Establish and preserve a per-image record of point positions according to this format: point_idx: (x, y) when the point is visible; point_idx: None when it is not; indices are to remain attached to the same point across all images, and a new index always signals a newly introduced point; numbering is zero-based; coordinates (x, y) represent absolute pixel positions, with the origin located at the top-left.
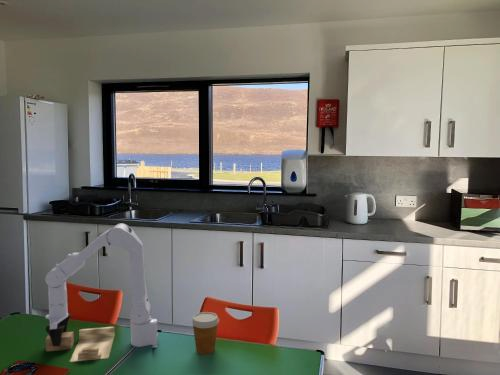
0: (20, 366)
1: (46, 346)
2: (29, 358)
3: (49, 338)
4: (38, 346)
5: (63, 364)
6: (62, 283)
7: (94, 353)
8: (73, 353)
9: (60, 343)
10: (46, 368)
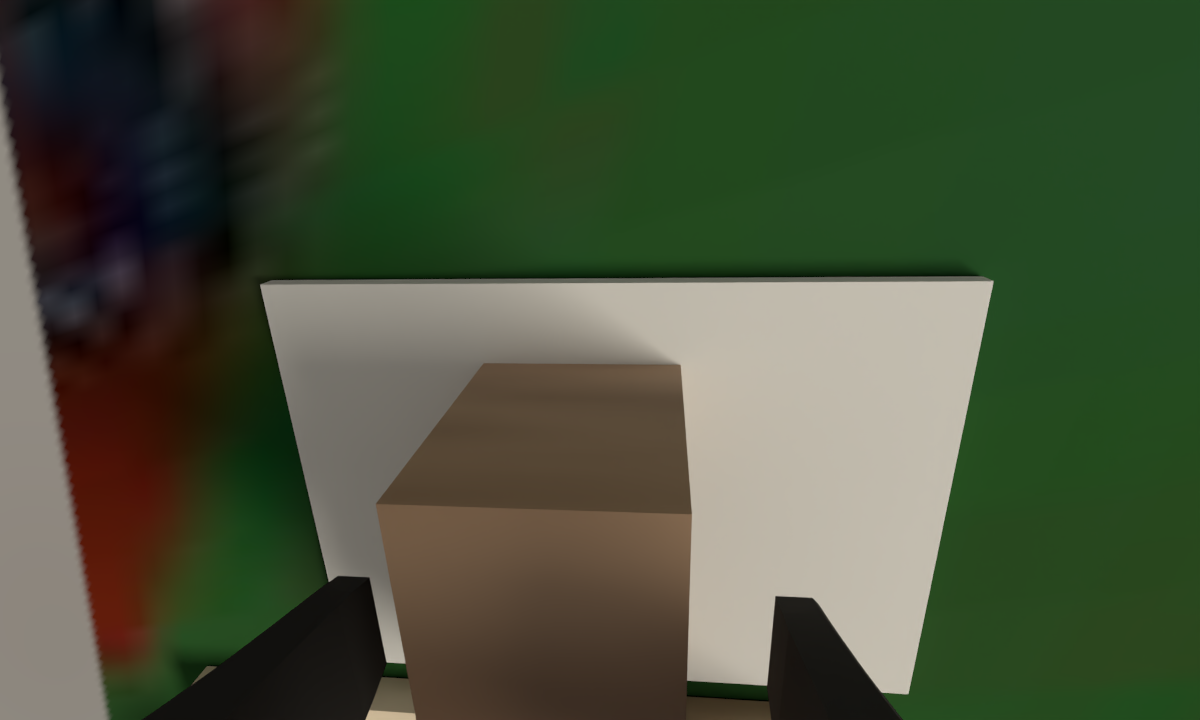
0: (111, 63)
1: (448, 421)
2: (369, 122)
3: (391, 581)
4: (831, 131)
5: (212, 609)
6: None
7: None
8: (380, 712)
9: (359, 698)
10: (107, 454)
